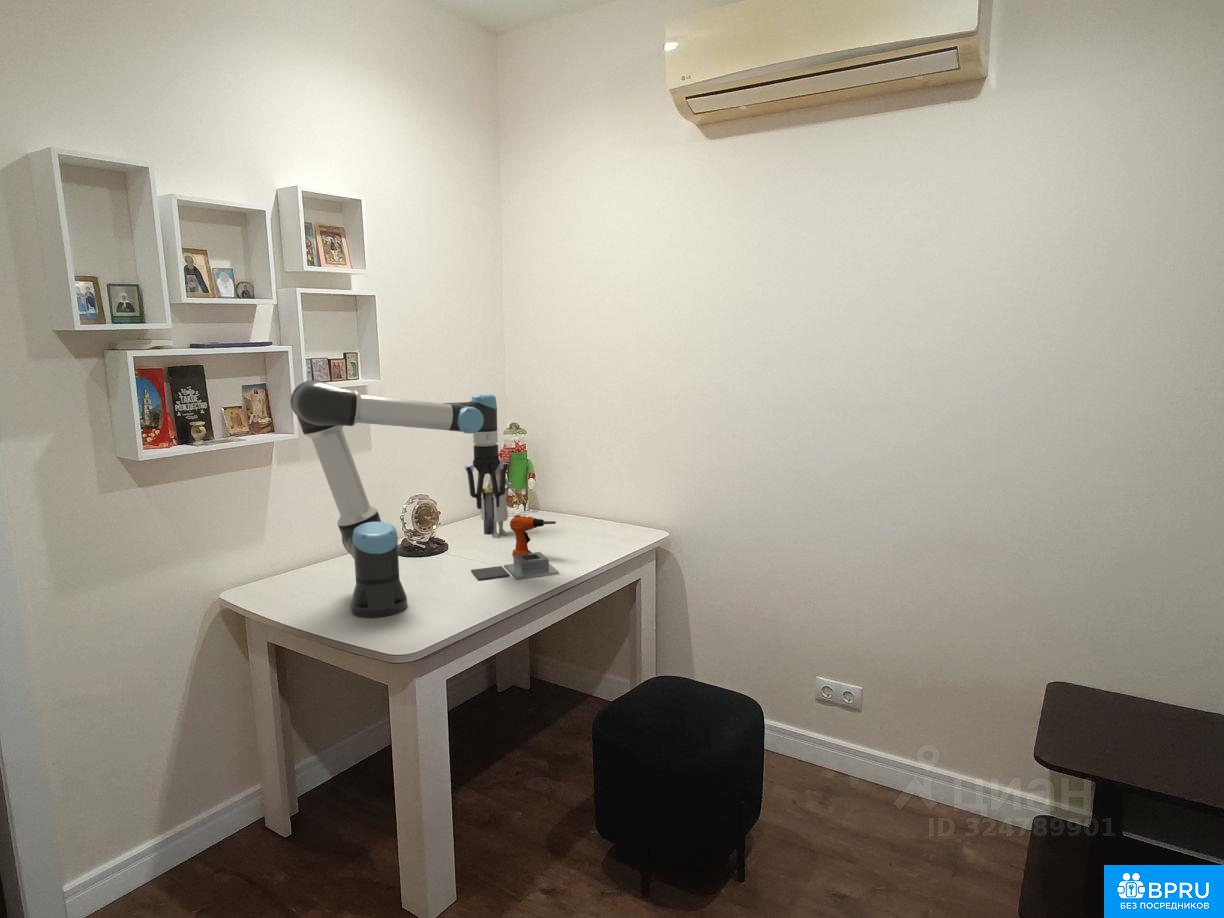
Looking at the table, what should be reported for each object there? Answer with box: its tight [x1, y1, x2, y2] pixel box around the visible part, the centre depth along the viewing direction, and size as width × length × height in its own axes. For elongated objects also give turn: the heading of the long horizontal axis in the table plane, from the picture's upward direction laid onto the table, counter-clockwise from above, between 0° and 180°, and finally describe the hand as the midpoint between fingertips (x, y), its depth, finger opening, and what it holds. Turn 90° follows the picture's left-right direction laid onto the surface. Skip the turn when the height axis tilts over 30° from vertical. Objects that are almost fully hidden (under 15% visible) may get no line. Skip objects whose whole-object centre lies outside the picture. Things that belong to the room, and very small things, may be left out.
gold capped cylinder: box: [482, 487, 494, 536], centre depth 239 cm, size 4×4×14 cm
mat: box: [470, 565, 511, 581], centre depth 243 cm, size 10×10×1 cm
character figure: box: [482, 457, 516, 538], centre depth 287 cm, size 17×8×30 cm, turn 142°
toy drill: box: [509, 514, 557, 557], centre depth 258 cm, size 5×19×15 cm, turn 63°
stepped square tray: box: [503, 551, 560, 580], centre depth 246 cm, size 14×14×4 cm
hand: (488, 517), depth 240 cm, fingers closed on gold capped cylinder, 3 cm apart
